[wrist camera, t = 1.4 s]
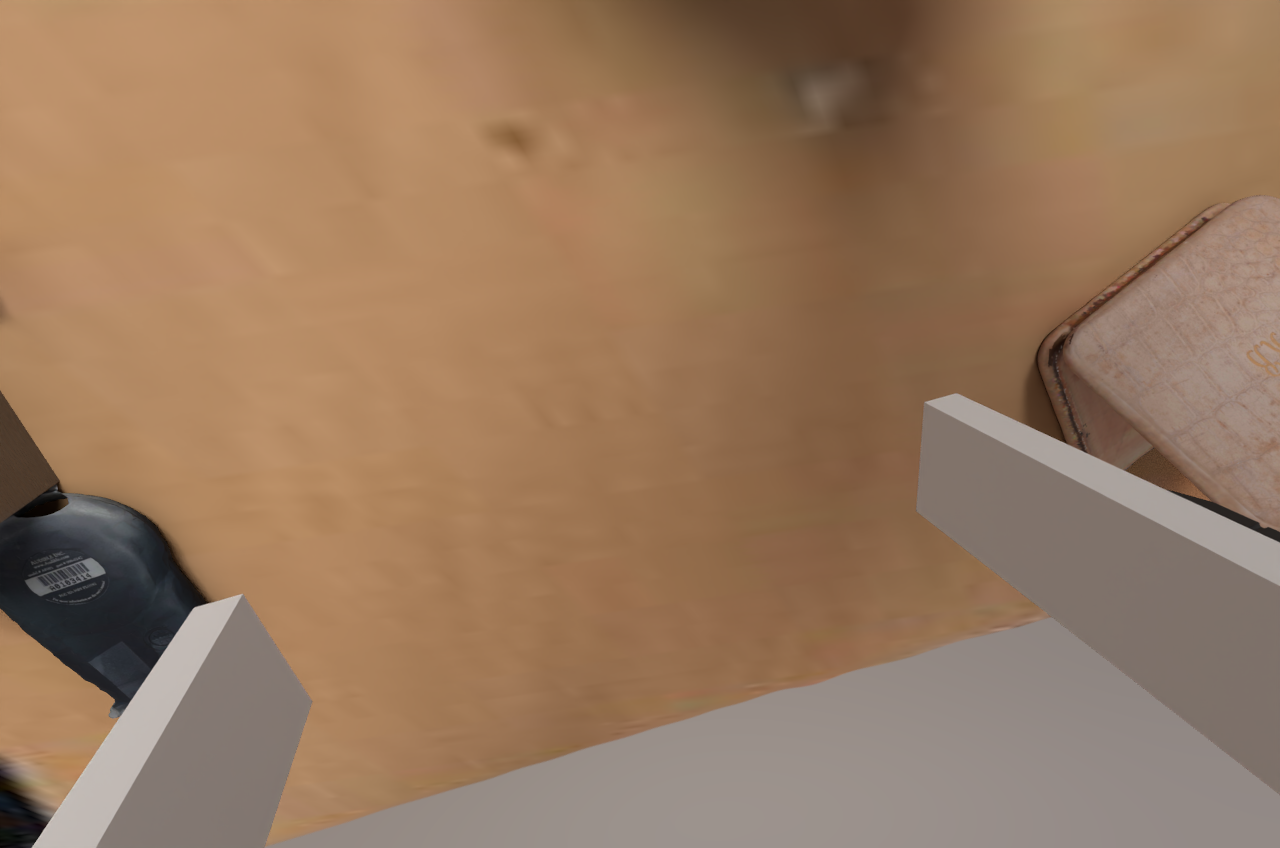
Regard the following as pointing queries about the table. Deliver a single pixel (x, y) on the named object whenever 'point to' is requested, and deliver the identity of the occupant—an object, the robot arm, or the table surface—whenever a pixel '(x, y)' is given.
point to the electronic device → (94, 589)
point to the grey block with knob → (19, 464)
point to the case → (1184, 360)
